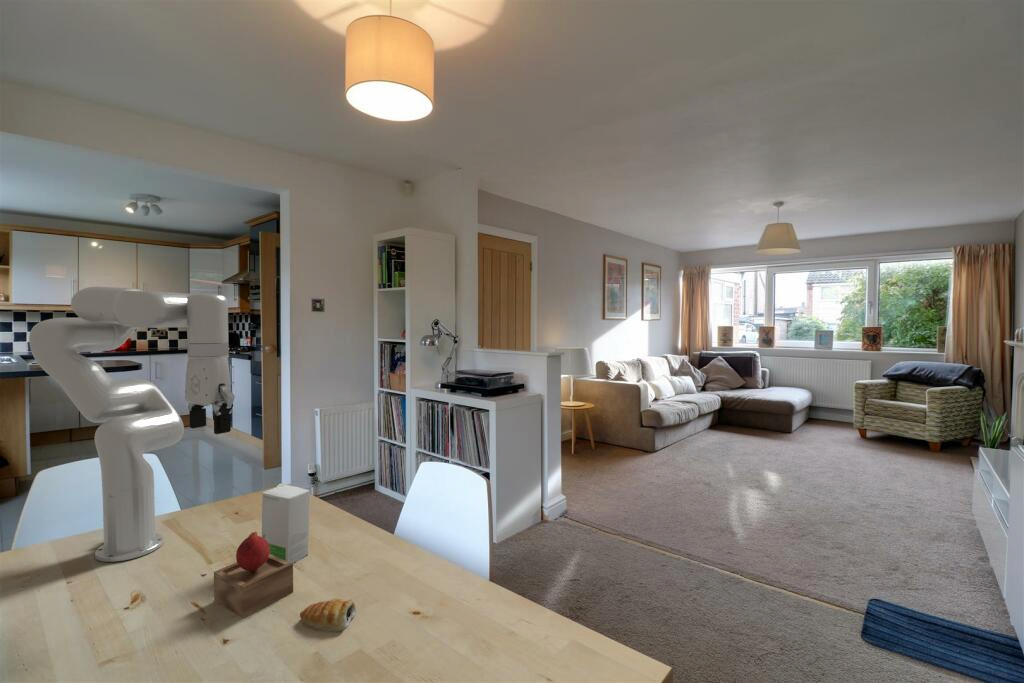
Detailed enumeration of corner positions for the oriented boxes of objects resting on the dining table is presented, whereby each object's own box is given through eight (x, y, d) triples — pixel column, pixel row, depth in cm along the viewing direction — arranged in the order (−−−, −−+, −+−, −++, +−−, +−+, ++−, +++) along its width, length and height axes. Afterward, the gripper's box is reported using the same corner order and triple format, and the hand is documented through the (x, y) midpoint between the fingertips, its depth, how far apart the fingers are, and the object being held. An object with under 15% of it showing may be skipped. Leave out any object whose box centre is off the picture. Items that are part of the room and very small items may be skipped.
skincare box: (260, 560, 110) (259, 492, 109) (284, 547, 116) (283, 483, 116) (288, 567, 107) (287, 498, 106) (311, 554, 113) (310, 488, 112)
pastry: (292, 632, 86) (292, 611, 85) (310, 609, 92) (310, 590, 92) (344, 635, 85) (344, 613, 85) (359, 612, 92) (359, 592, 92)
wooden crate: (214, 601, 94) (213, 572, 94) (263, 577, 103) (263, 551, 102) (244, 618, 89) (243, 587, 89) (293, 592, 98) (292, 563, 97)
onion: (255, 581, 92) (255, 539, 92) (229, 577, 93) (228, 537, 93) (276, 566, 98) (275, 527, 98) (251, 562, 99) (250, 524, 99)
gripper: (169, 350, 106) (170, 428, 107) (212, 354, 97) (213, 439, 98) (205, 348, 113) (206, 422, 114) (248, 352, 104) (250, 431, 105)
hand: (209, 429), depth 106 cm, fingers open, 9 cm apart
